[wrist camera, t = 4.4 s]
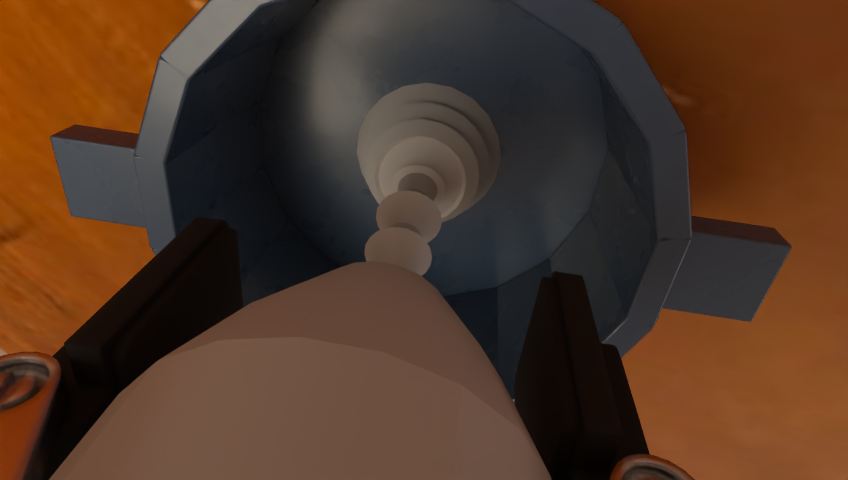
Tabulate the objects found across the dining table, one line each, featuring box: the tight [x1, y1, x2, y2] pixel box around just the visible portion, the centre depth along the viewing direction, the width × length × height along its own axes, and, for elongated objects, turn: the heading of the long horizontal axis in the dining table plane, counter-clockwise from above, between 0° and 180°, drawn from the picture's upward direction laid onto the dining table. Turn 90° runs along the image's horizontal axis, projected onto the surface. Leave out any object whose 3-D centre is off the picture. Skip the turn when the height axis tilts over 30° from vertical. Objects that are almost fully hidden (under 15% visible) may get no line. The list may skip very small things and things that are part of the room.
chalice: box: [49, 83, 551, 480], centre depth 11 cm, size 7×7×18 cm
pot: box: [50, 0, 792, 405], centre depth 16 cm, size 14×19×6 cm
